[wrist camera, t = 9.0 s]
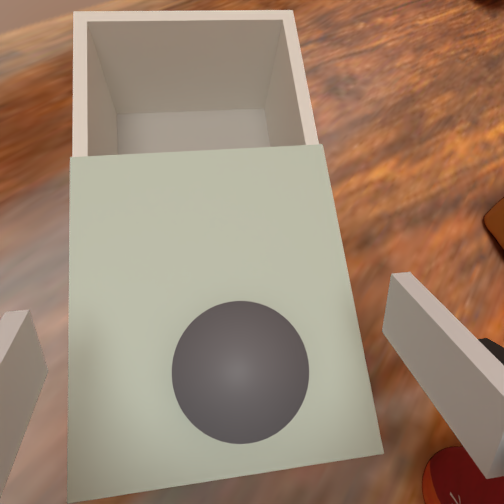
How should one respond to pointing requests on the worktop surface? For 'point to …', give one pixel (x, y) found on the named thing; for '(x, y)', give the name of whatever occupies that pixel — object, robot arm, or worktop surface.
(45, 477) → the worktop surface
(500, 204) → the coffee package
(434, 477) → the paper cup
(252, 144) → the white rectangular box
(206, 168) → the lid
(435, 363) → the robot arm
